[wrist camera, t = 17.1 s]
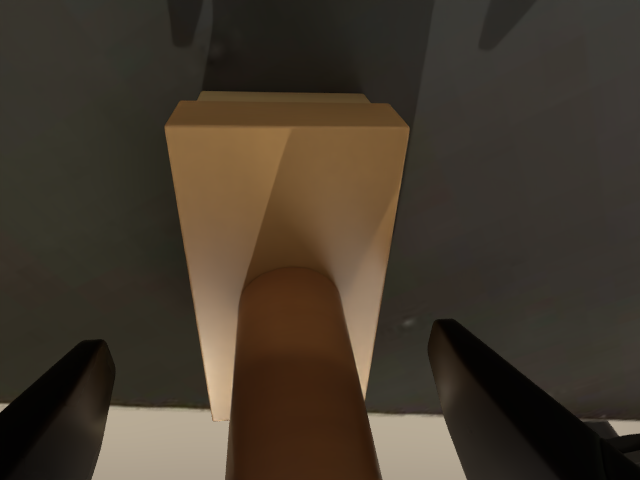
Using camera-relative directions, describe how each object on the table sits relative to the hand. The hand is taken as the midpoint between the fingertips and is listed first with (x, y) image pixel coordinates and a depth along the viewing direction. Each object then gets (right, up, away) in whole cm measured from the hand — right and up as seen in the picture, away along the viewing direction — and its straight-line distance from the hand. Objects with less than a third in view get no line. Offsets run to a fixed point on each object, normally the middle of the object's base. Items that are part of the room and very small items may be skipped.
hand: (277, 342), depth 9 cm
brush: (0, +2, +3) cm, 4 cm away
